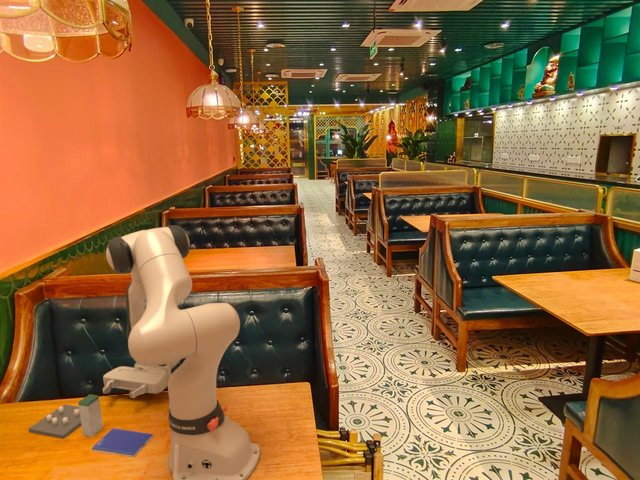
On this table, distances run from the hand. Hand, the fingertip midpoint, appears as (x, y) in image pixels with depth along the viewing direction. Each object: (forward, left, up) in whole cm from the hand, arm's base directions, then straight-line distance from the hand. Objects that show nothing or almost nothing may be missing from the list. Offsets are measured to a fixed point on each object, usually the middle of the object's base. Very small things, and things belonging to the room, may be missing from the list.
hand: (118, 393), depth 126 cm
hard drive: (-12, +12, -6) cm, 18 cm away
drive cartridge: (0, +10, -5) cm, 12 cm away
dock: (+12, +9, -5) cm, 16 cm away
